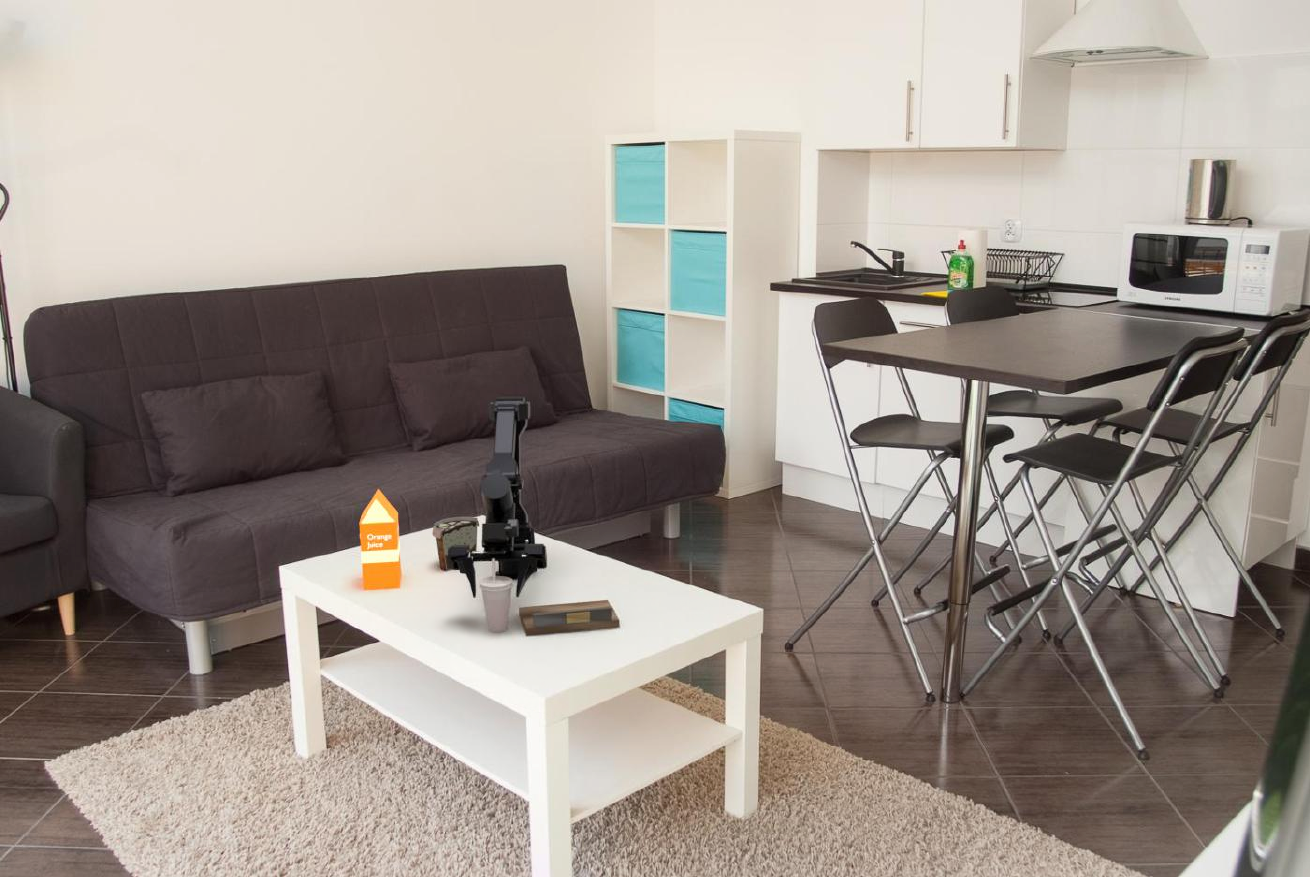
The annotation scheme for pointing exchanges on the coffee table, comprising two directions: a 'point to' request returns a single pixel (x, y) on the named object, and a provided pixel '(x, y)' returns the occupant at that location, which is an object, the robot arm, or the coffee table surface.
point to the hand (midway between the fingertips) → (495, 596)
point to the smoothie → (496, 600)
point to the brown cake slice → (454, 536)
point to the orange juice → (380, 545)
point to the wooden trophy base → (568, 617)
